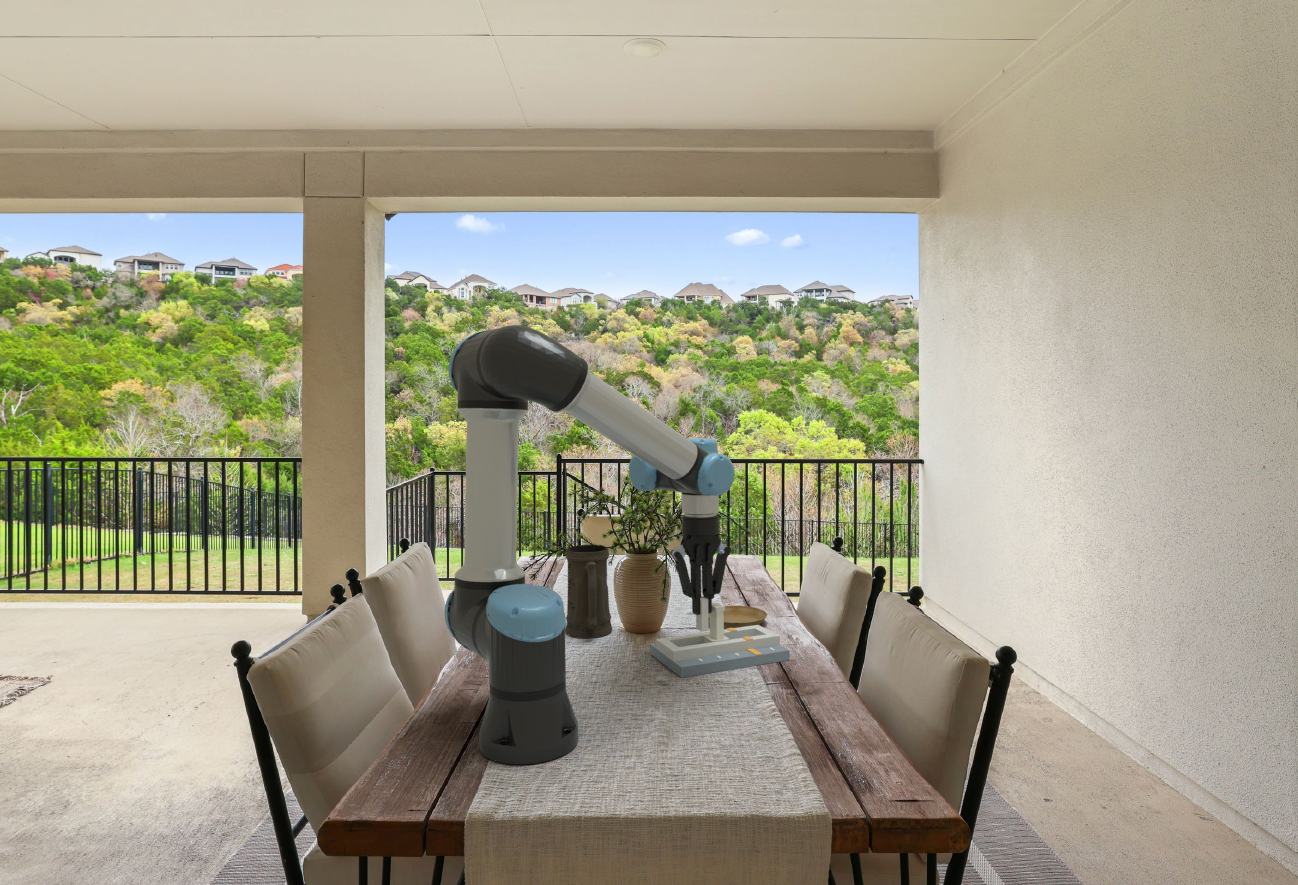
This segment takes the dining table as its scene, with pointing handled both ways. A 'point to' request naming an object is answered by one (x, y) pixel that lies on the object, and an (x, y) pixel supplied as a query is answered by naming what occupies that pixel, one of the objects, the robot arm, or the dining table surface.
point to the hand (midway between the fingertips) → (702, 629)
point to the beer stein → (588, 592)
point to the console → (719, 651)
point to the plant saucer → (742, 616)
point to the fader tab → (716, 624)
